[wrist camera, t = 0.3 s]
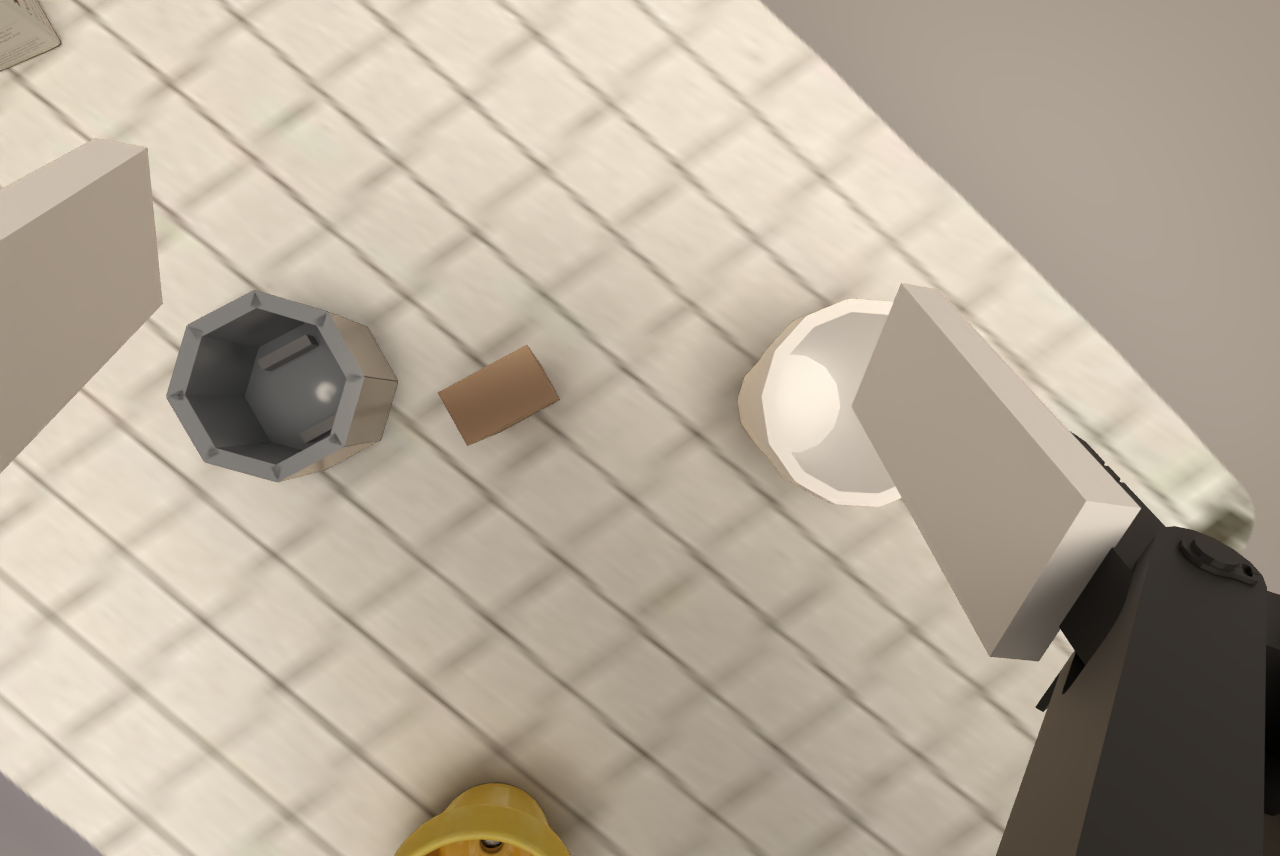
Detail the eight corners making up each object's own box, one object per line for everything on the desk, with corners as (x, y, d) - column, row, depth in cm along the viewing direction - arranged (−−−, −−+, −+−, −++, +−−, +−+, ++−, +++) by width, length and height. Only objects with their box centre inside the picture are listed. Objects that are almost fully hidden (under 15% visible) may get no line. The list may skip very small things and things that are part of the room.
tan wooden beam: (559, 399, 49) (556, 397, 33) (500, 432, 49) (467, 445, 33) (540, 363, 49) (527, 344, 33) (480, 396, 49) (437, 392, 33)
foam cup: (682, 382, 50) (722, 375, 37) (806, 295, 50) (889, 257, 38) (770, 511, 51) (840, 548, 38) (892, 423, 51) (1003, 430, 38)
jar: (419, 419, 49) (390, 422, 41) (286, 490, 48) (230, 507, 40) (345, 288, 48) (301, 265, 40) (210, 359, 48) (138, 350, 40)
